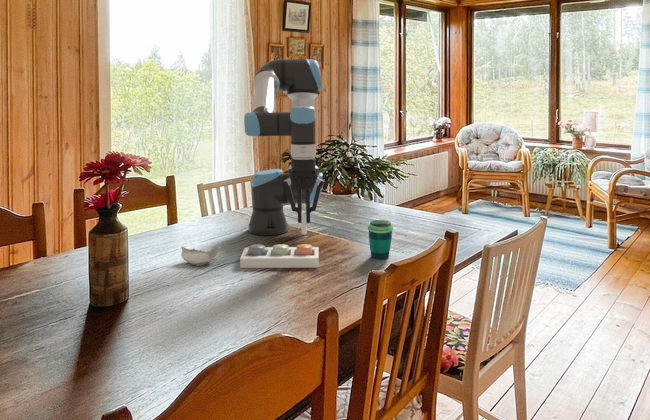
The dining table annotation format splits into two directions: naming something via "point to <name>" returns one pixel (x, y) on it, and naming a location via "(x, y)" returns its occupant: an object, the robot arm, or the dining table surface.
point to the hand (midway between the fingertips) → (304, 232)
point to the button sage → (280, 250)
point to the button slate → (257, 250)
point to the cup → (380, 238)
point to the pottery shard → (199, 255)
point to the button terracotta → (304, 250)
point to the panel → (280, 259)
